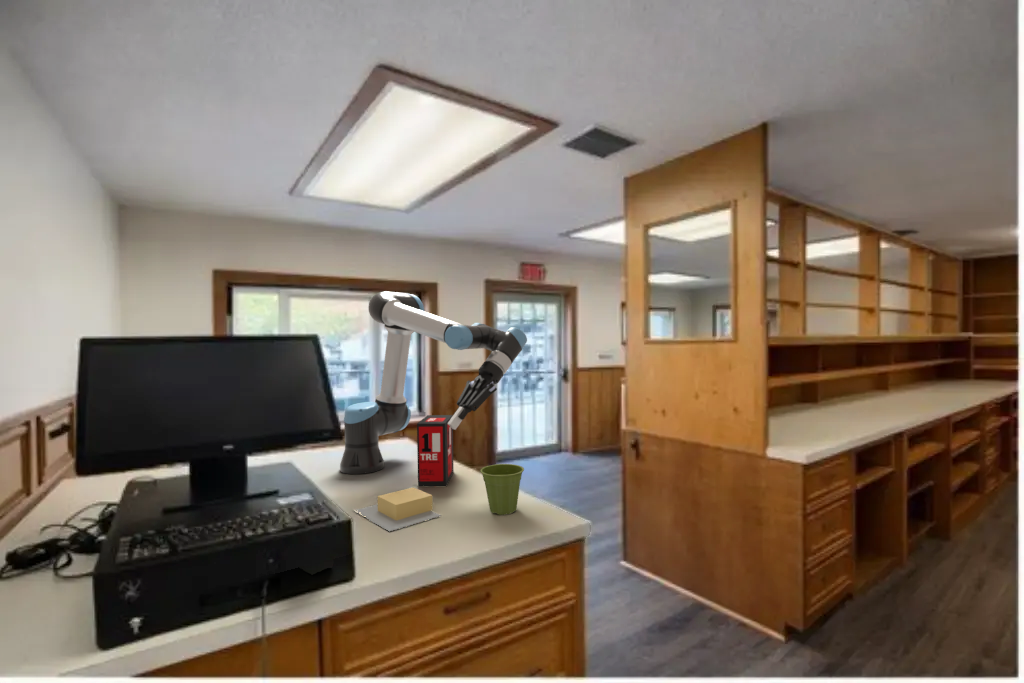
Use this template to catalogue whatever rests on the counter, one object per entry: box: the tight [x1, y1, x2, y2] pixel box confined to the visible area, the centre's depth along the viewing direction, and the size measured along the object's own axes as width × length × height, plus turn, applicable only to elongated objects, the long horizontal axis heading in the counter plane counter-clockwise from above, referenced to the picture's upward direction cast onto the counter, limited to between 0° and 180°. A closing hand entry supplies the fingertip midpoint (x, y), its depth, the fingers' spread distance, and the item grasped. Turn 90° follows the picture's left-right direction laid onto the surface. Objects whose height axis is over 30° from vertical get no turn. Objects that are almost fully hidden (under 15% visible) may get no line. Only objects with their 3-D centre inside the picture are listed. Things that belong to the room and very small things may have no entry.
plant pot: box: [479, 463, 525, 516], centre depth 133 cm, size 12×12×11 cm
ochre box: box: [377, 486, 434, 521], centre depth 134 cm, size 10×4×11 cm
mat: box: [356, 503, 442, 533], centre depth 132 cm, size 20×15×1 cm
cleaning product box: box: [416, 414, 454, 487], centre depth 164 cm, size 16×9×20 cm, turn 179°
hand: (451, 426), depth 147 cm, fingers closed
